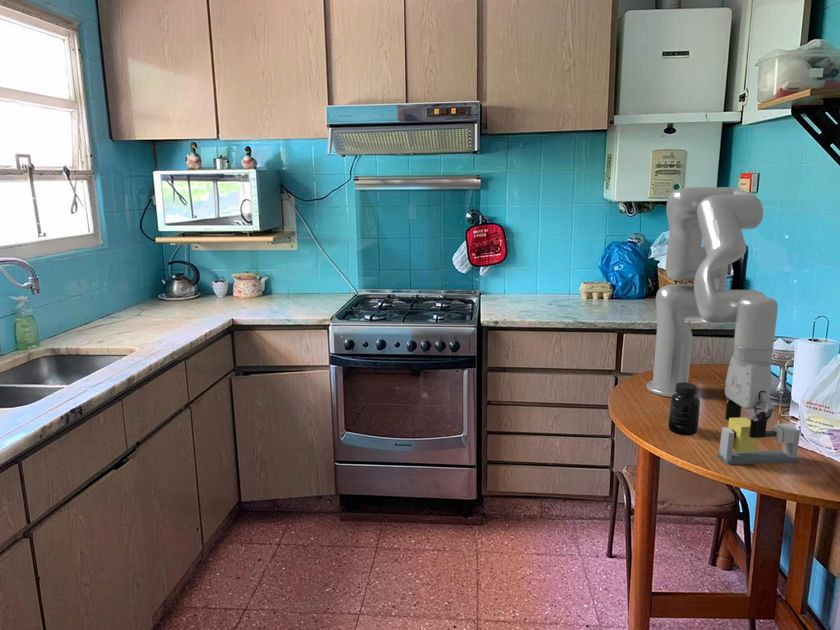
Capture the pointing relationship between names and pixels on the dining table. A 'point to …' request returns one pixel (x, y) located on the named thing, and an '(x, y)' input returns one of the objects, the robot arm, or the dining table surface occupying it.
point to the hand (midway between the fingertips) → (744, 428)
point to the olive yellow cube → (742, 435)
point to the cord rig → (778, 433)
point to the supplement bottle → (684, 410)
